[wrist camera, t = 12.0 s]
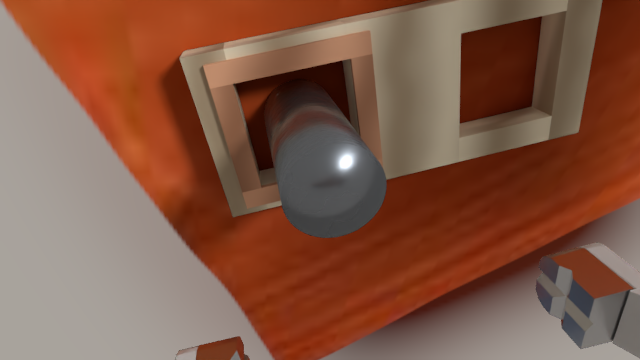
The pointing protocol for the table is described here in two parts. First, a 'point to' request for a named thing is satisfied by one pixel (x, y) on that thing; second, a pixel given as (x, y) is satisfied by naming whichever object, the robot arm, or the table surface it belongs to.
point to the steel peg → (320, 162)
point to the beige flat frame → (396, 85)
